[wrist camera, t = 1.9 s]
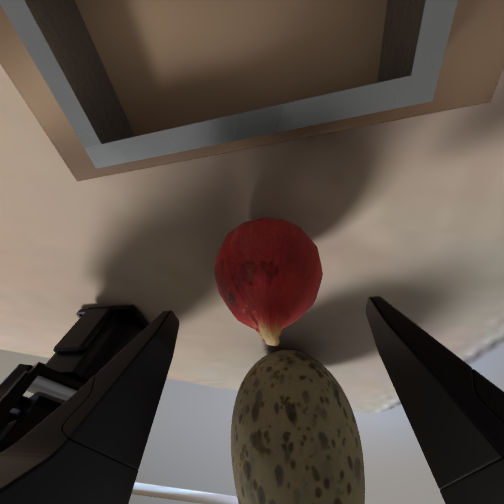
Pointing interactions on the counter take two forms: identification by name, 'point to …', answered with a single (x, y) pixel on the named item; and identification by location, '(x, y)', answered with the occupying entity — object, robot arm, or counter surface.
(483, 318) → the counter surface
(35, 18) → the square metal frame
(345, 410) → the decorative egg
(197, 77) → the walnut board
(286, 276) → the onion
